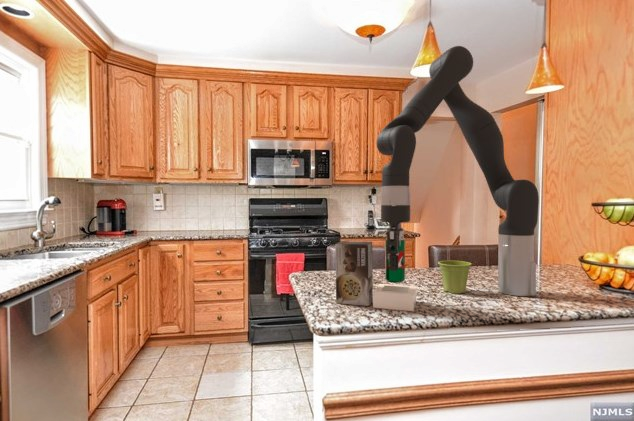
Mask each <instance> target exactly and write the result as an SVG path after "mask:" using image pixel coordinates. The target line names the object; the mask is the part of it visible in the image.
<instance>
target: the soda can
mask: <svg viewBox="0 0 634 421" xmlns="http://www.w3.org/2000/svg"><path fill="white" fill-rule="evenodd" d="M384 242H385V243H384V244H385V247H384V248H385V249H384V250H385V251H384V252H385V253H384V254H385V257H384V258H385V259H384V262H385V263H384V265H385V266H384V268H385V269H384V270H385V272H384V273H385V274H384V278H385V280H386V281H387V282H388V283H392V284H400V283H403V282H405V280H406V239H405V237H404V235H403V236H402V237H401V247H400V248H399V256H398V270H397V271H391V270H390V269H389V254H388V253H387V237H386V238H385V241H384ZM398 242H399V240H398ZM391 249H395V247H391Z"/></svg>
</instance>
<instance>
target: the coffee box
mask: <svg viewBox="0 0 634 421" xmlns="http://www.w3.org/2000/svg"><path fill="white" fill-rule="evenodd" d="M334 245H335V246H334V249H335V304H341V305H351V306H352V305H353V306H354V305H355V306H365V307H366V306H367V307H368V306H370V305H371V304H372V303H373V291H374V288H373V287H374V285H373V284H374V280H373V279H374V278H373V277H374V276H373V274H374V273H373V271H374V270H373V241H356V240H355V241H352V240H350V241H345V240H342V241H339V242H337V243H335V244H334Z"/></svg>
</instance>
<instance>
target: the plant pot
mask: <svg viewBox="0 0 634 421" xmlns="http://www.w3.org/2000/svg"><path fill="white" fill-rule="evenodd" d="M437 264H438V265H439V269H440V272H441V279H442V287H443V291H444V292H449V293H450V294H456V295H457V294H461V293H463V294H464V293H466V291H467V284H468V283H467V282H468V277H469V276H468V275H469V271H470V269H471V266H472V263H471V262H470V261H469V262H468V261H463V260H462V261H461V260H440V261H438V262H437Z"/></svg>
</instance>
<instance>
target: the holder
mask: <svg viewBox="0 0 634 421" xmlns="http://www.w3.org/2000/svg"><path fill="white" fill-rule="evenodd" d="M417 288H418V287H417V286H415V285H402V284H401V285H400V284H388V283H379V284H378V285H377V286H376V287H375V289H373V301H372V308H374V309H376V308H377V309H385V310H395V311H406V312H407V311H408V312H414V311H415V309H416V308H415V307H416V304H417V294H418V292H417Z"/></svg>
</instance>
